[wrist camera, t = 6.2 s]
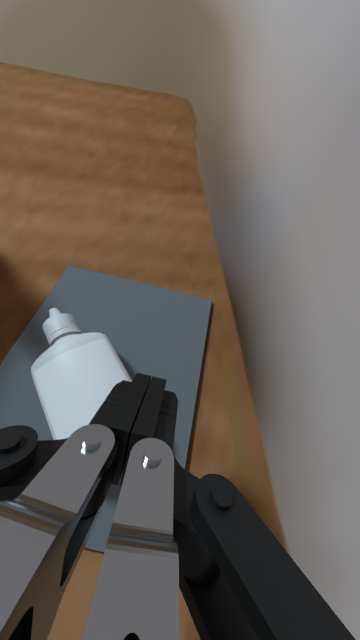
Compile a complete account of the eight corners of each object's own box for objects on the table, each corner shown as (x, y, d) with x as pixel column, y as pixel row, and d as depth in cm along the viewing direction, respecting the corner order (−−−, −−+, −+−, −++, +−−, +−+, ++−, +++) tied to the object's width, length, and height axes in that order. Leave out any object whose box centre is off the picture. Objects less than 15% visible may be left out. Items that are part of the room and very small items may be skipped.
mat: (-89, 501, 12) (-96, 503, 12) (70, 267, 22) (68, 265, 22) (168, 564, 12) (168, 568, 12) (210, 302, 22) (211, 300, 22)
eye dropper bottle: (132, 431, 11) (56, 278, 15) (54, 489, 11) (2, 325, 16) (161, 415, 15) (95, 298, 19) (103, 458, 15) (51, 334, 20)
